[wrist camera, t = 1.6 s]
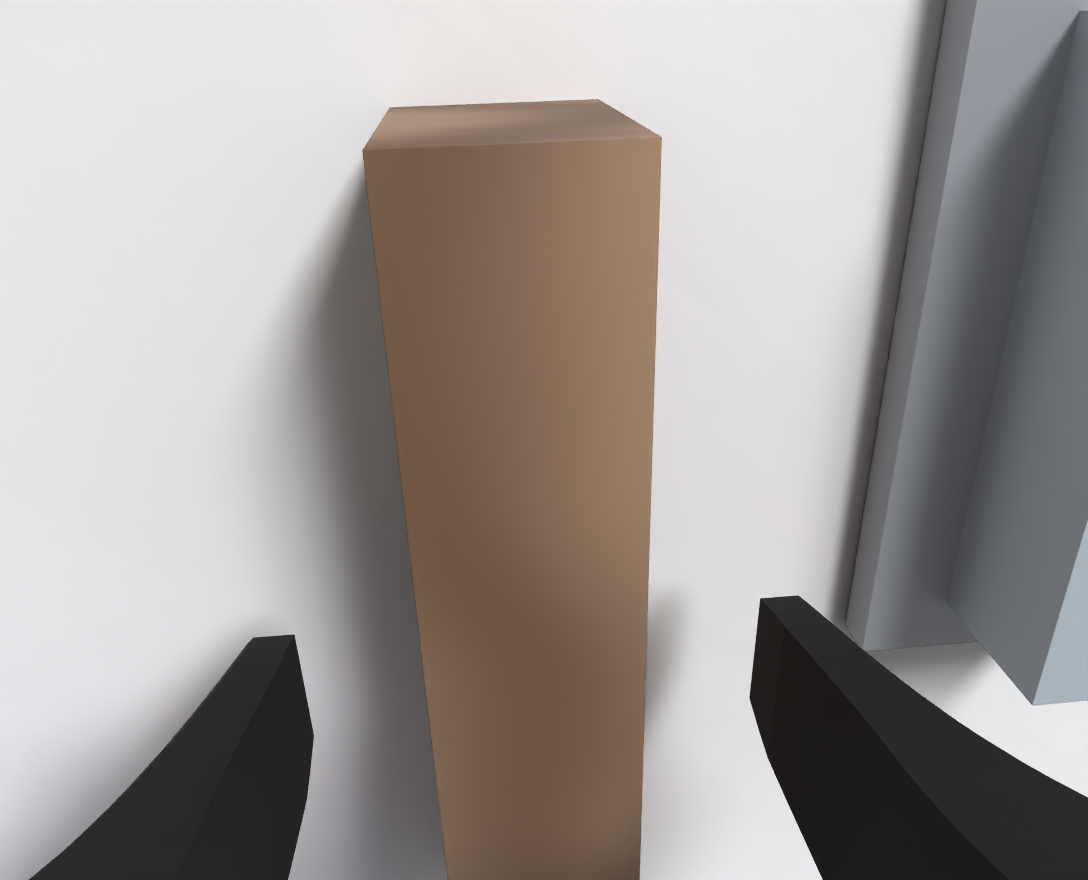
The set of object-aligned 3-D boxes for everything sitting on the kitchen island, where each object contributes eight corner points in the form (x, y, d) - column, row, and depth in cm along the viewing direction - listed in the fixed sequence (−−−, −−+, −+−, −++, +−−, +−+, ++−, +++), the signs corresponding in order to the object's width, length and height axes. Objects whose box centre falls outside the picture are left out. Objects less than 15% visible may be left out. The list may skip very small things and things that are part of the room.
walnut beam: (595, 97, 13) (661, 136, 9) (597, 843, 20) (634, 1053, 16) (391, 105, 13) (362, 150, 9) (466, 856, 20) (470, 1072, 16)
